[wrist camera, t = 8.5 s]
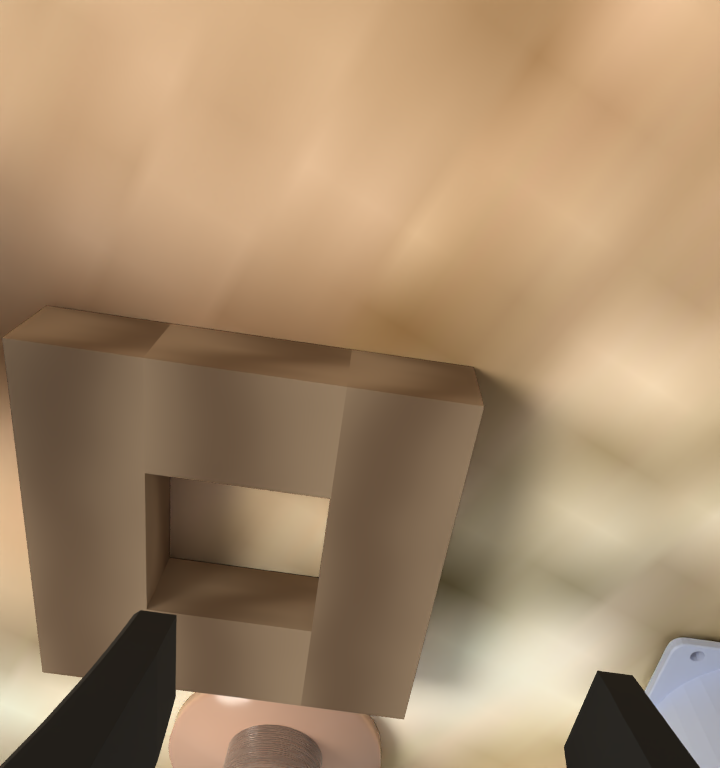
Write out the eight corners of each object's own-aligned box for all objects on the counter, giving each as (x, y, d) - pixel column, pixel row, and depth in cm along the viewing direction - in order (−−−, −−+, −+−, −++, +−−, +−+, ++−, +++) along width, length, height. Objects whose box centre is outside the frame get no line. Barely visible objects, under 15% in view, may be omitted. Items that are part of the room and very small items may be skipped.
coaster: (396, 687, 26) (396, 704, 26) (365, 816, 30) (364, 835, 30) (175, 658, 26) (168, 675, 25) (173, 792, 30) (168, 810, 29)
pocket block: (473, 367, 20) (484, 406, 18) (402, 661, 26) (403, 719, 23) (46, 305, 20) (1, 337, 17) (73, 618, 25) (42, 672, 23)
